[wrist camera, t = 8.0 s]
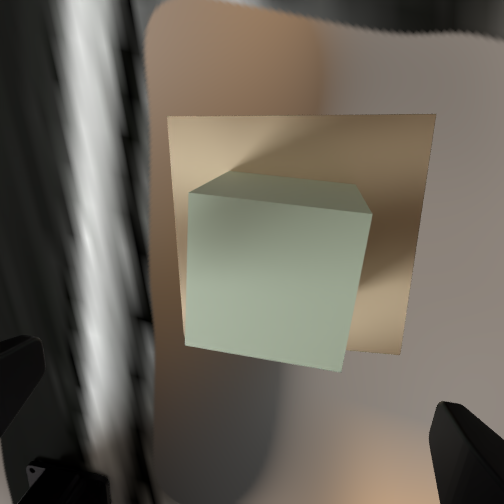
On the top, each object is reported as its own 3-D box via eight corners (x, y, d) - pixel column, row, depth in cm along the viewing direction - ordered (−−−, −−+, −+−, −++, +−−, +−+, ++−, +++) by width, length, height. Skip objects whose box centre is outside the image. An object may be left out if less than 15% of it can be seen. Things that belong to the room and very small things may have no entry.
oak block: (385, 311, 20) (400, 354, 16) (207, 298, 22) (184, 335, 18) (410, 115, 17) (435, 114, 13) (197, 117, 18) (167, 116, 15)
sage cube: (335, 299, 16) (341, 372, 11) (222, 283, 17) (184, 345, 12) (355, 184, 14) (372, 214, 10) (229, 170, 15) (188, 192, 10)
